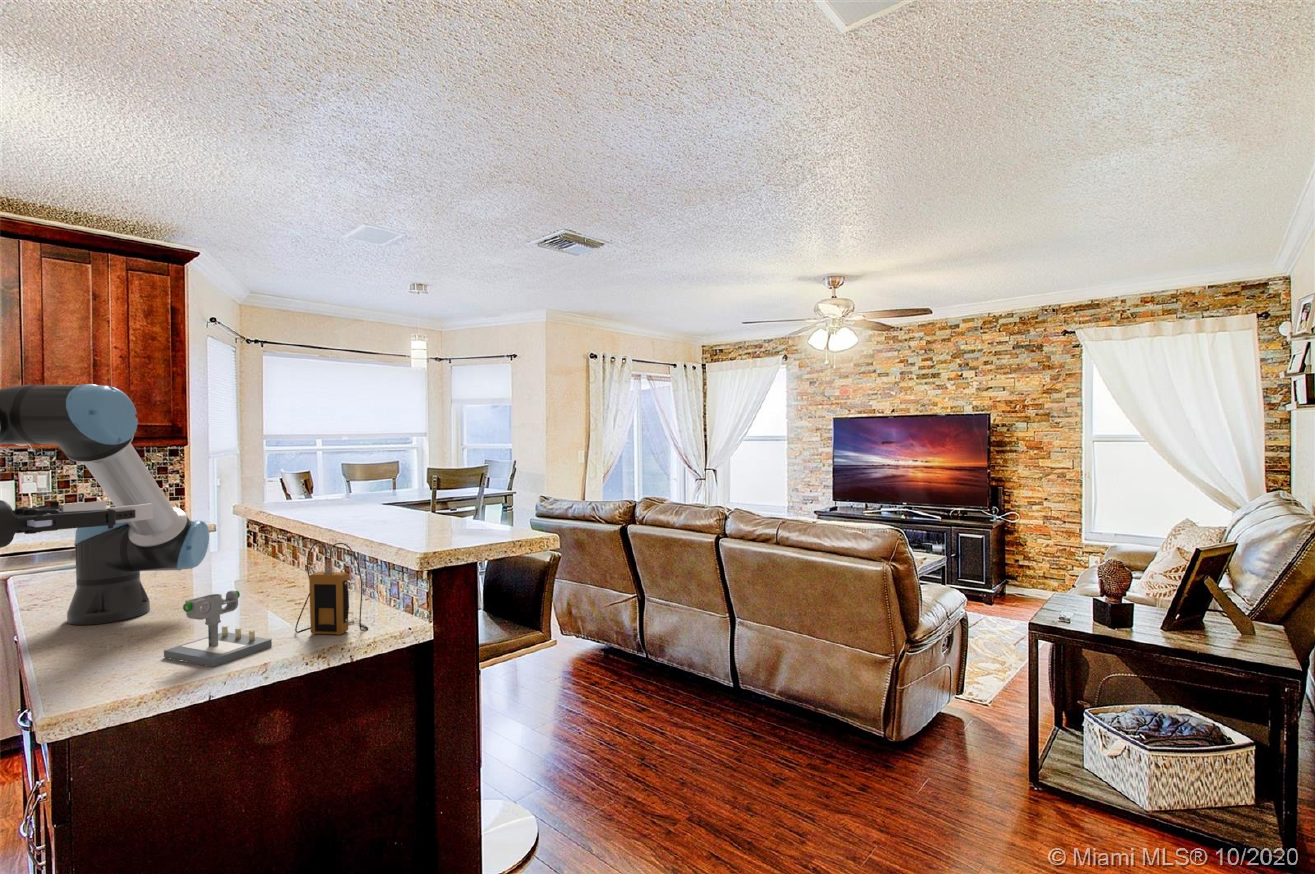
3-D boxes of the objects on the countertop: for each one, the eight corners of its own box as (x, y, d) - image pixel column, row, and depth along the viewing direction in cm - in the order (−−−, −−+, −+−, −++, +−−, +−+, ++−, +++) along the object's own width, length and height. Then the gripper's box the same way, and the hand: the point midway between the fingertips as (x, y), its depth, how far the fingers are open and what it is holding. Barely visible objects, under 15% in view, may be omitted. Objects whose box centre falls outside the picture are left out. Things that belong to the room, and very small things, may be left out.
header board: (163, 657, 126) (163, 640, 126) (224, 638, 137) (224, 622, 137) (212, 667, 121) (212, 648, 121) (271, 646, 132) (271, 629, 132)
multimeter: (382, 621, 148) (380, 535, 148) (357, 636, 138) (356, 543, 138) (321, 620, 150) (320, 534, 149) (293, 634, 140) (291, 542, 139)
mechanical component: (243, 638, 132) (242, 589, 132) (192, 655, 123) (191, 603, 122) (232, 637, 133) (231, 588, 133) (181, 653, 124) (180, 601, 123)
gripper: (-71, 546, 103) (86, 526, 123) (18, 556, 94) (172, 533, 114) (-73, 499, 103) (85, 487, 123) (16, 505, 94) (171, 491, 114)
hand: (128, 509), depth 118 cm, fingers open, 13 cm apart
